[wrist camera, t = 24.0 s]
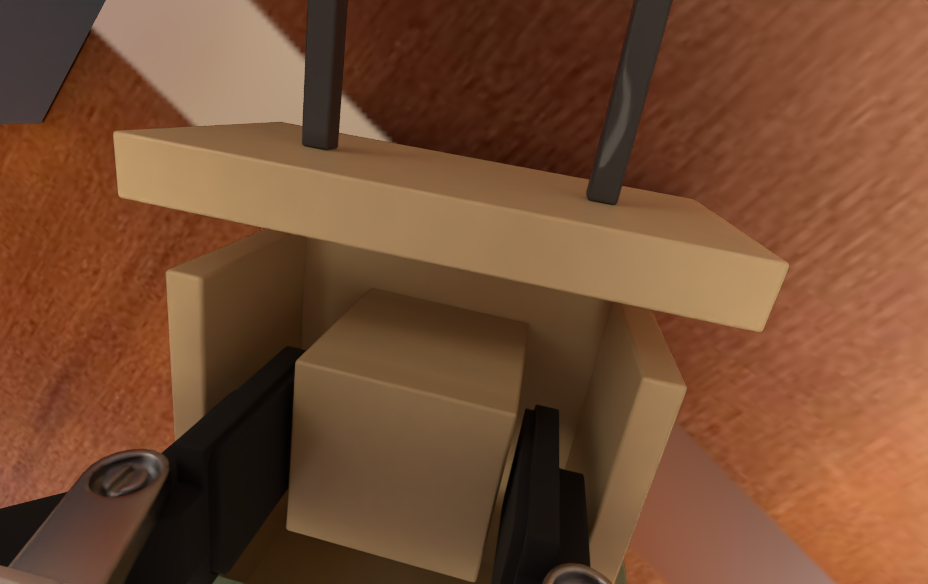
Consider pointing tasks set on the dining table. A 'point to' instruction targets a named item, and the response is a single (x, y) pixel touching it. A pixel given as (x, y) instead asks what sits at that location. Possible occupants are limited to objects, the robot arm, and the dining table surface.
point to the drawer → (448, 280)
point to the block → (405, 430)
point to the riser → (39, 52)
